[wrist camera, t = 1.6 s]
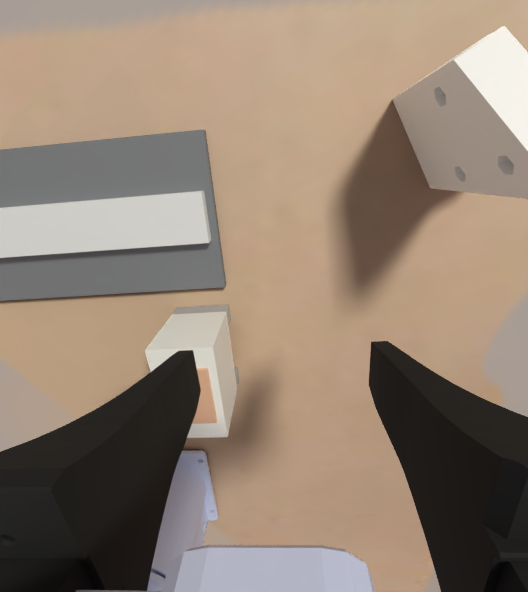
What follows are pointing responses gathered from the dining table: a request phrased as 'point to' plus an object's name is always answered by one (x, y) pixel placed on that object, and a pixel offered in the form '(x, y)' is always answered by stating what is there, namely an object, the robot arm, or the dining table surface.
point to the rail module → (202, 363)
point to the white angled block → (473, 119)
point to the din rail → (108, 217)
